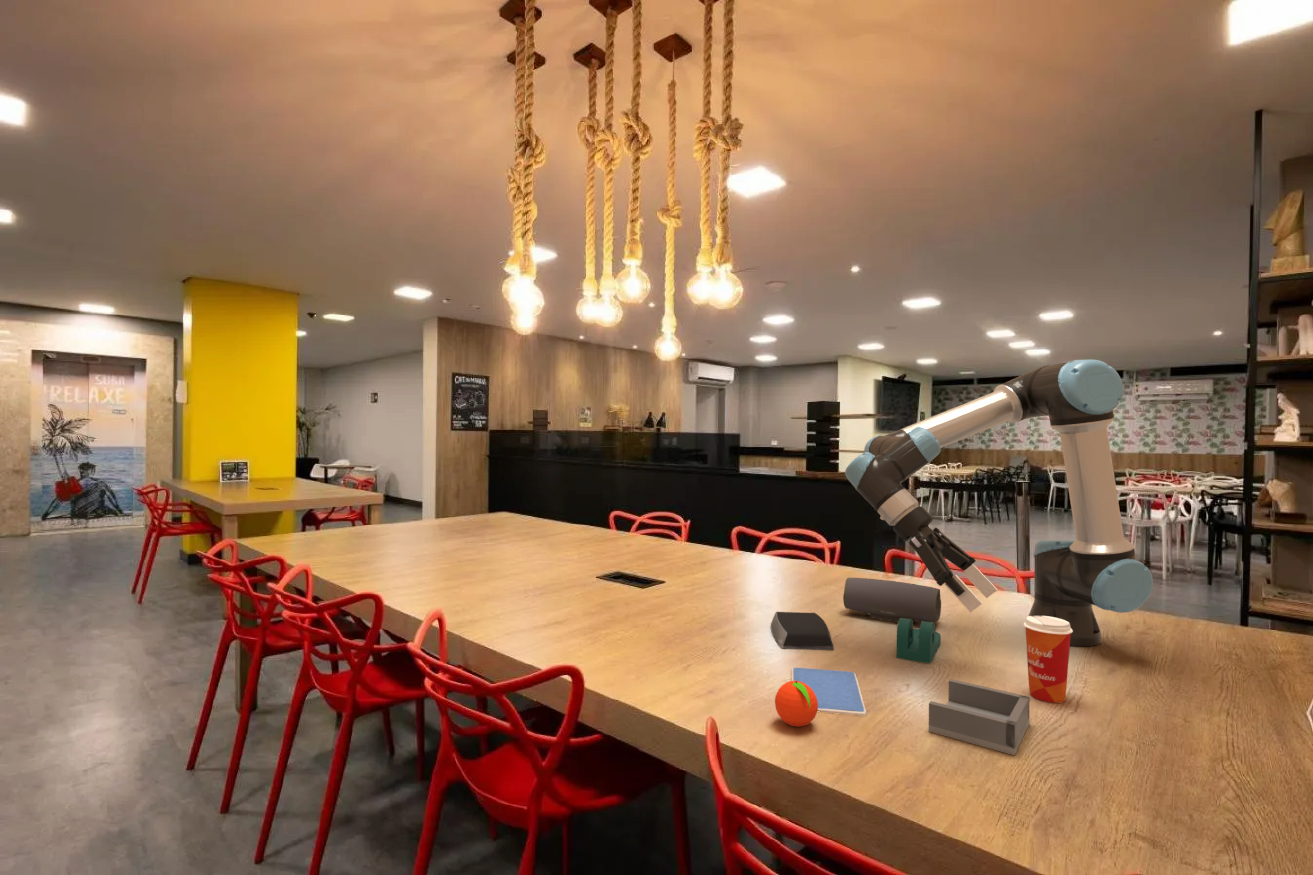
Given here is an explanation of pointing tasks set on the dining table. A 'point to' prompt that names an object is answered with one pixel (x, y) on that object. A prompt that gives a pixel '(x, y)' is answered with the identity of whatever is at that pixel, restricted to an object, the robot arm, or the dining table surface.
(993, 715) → the cup holder
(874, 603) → the bluetooth speaker
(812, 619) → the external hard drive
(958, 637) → the dining table surface
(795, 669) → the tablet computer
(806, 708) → the clementine
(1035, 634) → the paper cup
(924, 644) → the bracket
